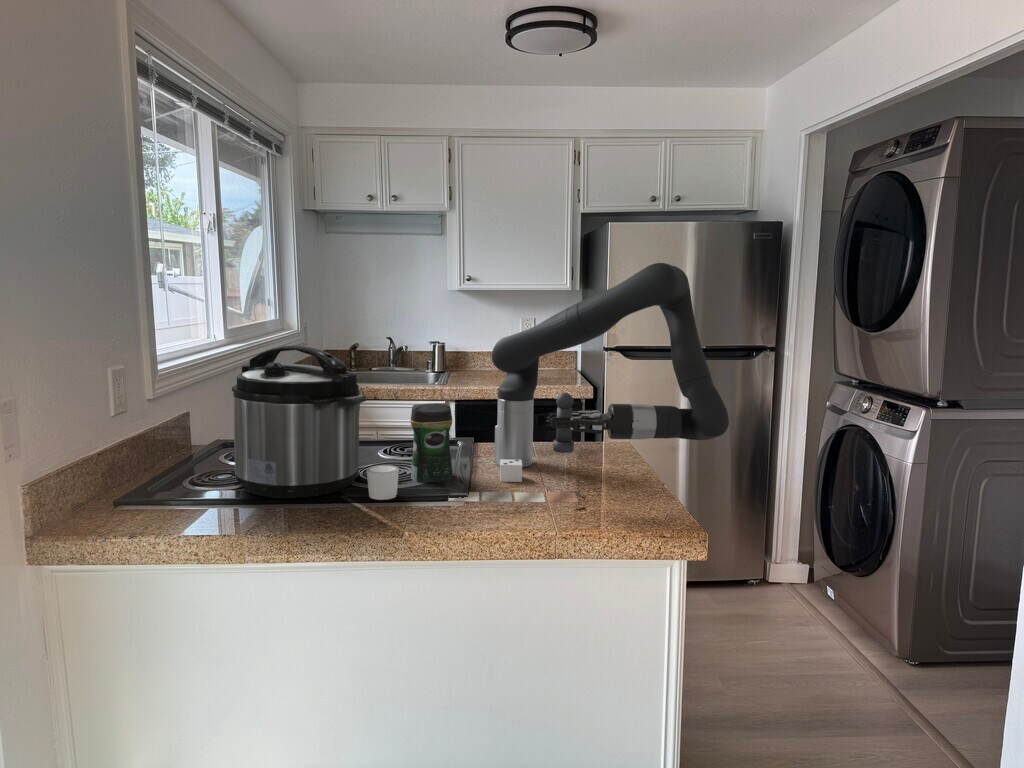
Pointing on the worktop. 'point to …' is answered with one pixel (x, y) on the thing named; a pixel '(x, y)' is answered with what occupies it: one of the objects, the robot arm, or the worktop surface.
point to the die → (510, 470)
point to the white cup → (382, 481)
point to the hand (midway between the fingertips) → (550, 420)
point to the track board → (522, 497)
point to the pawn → (564, 434)
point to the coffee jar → (431, 442)
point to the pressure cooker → (296, 425)
